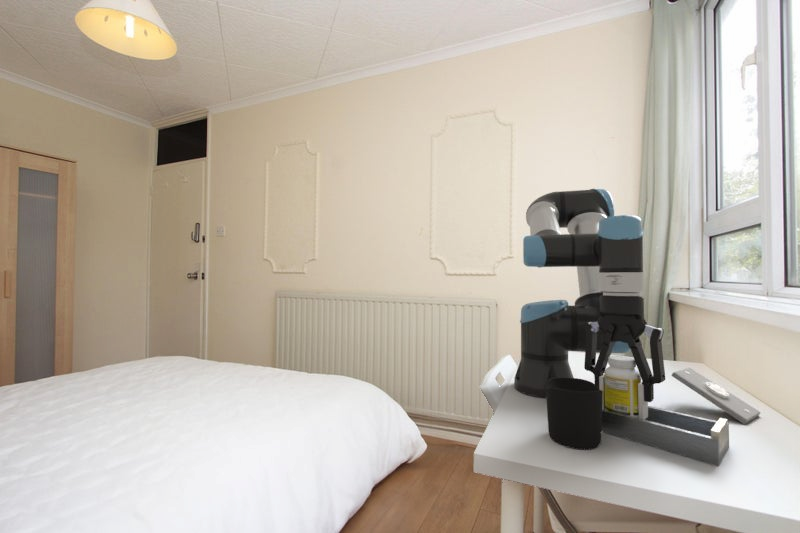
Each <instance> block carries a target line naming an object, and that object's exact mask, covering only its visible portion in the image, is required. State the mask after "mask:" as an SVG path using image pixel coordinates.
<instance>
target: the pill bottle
mask: <svg viewBox="0 0 800 533" xmlns="http://www.w3.org/2000/svg"><path fill="white" fill-rule="evenodd" d="M607 365H609V366H608V367H606V369H605V372H604V373H603V375H604V382H605V410H608V411H612V412H616V413H620V414H624V415H628V416H632V417H635V418H639V408H638V384H639V383H641V382H642V379H641V376H640V373H639V371H638V369H635V368H637V365H636V362H635V360H634V357H631V356H627V355H626V356H623V355H610V356H609V357H608V363H607Z"/></svg>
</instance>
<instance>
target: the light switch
mask: <svg viewBox="0 0 800 533" xmlns="http://www.w3.org/2000/svg"><path fill="white" fill-rule="evenodd" d="M671 377H673V378H674V379H675V380H677V381H679V382H680V383H681V384H683V385H685V386H686V387H687V388H689V389H691V390H692V391H693V392H695V393H697V394H698V395H700V396H701V397H703V398H704V399H705V400H706V401H708V402H710V403H712V404H713V405H715V406H716V407H718V408H719V409H721V410H722V411H724V412H725V413H726V414H728V415H730V416H731V417H733V418H734V419H736V420H738V422H740V423H741V424H743V425H746V424H747V423H749V422H751V421H753V420H754V419H755V418H757V417H759V416H760V414H761V411H759V410H758V409H757V408H755V407H753V406H751V405H750V404H749V403H747V402H745V401H744V400H742V399H740V398H739V397H737V396H736V395H734V394H733V393H732V392H730V391H728V390H727V389H724V388H723V387H722V386H720V385H718V384H716V383H715V382H713V381H712V380H710V379H708V378H707V377H705V376H704V375H702V374H701V373H699V372H697V371H696V370H694V369H692V368H691V367H688V368H687V367H686V368H684V369H679V370H677V371H674V372H672V374H671Z"/></svg>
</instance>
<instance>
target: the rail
mask: <svg viewBox="0 0 800 533" xmlns="http://www.w3.org/2000/svg"><path fill="white" fill-rule="evenodd" d="M729 424H730V423H728V418H723V417H719V418H718V420H714V419H710V418H705V417H701V416H696V415H692V414H687V413H682V412H678V411H674V410H669V409H666V408H660V407H657V406H651V405H648V417H647V418H646V419H645V420H643V419H639V418H635V417H632V416H628V415H624V414H620V413H616V412H612V411H608V410H604V409H602V429H601V433H605V434H608V435H612V436H614V437H619V438H622V439H625V440H628V441H632V442H635V443H639V444H643V445H645V446H650V447H652V448H655V449H659V450H662V451H665V452H669V453H673V454H676V455H678V456H679V455H680V456H682V457H686V458H689V459H693V460H697V461H700V462H702V463H707V464H710V465H713V466H716V467H719V466H720V465H721V463H722V461H723V459H724V457H725V456H726V454H727V452H728V450H729V448H730V431H729V430H730V426H729Z"/></svg>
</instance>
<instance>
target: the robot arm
mask: <svg viewBox="0 0 800 533" xmlns="http://www.w3.org/2000/svg"><path fill="white" fill-rule="evenodd" d="M614 206H615V205H614V201H613V197H612V195H611V193H610V191H609V190H607V189H604V188H600V189H599V188H590V189H580V190H566V191H563V190H562V191H552V192H548V193H545V194H543V195H541V196H539V197H538V198H536V199H535V200H533V202H531V203H530V204H529V206H528V208H527V210H526V212H525V220H526V224H527V225H528V227H529V232H530V235H526V236H524V237H523V242H522V247H523V248H522V249H523V250H522V252H523V253H522V254H523V255H522V256H523V257H522V258H523V259H522V260H523V261H522V262H523V264H524V266H525V267H535V268H552V267H553V268H558V267H559V268H560V267H561V268H566V267H567V268H569V267H573V268H575V267H576V272H577V281H578V289H579V297H577V298H576V299H575V301H574V305H569V303H568V301H567V300H566V299H556V300H555V299H552V300H541V301H535V302H533V301H532V302H529V303H525V304H524V305H523V306H522V307H521V310H520V320H519V323H520V360H519V363H518V367H517V369H516V373H515V376H514V381H513V382H514V383H513V384H514V389H515V390H516V391H519V392H520V393H522V394H525V395H529V396H533V397H539V398H544V399H547V398H546V382H547V381H548V380H549V379H551V378H559V377H566V378H575V377H574V374H573V371H572V368H571V366H570V362H569V352H579V353H580V352H583V353H585V354H584V366H583V367H584V369H585V371H588V372H590V373H592V374H593V376H594V384H595V385H596V386H597V387H598V388H599V389H600V390H602V391H603V398H602V409H604V410H605V382H604V372H605V369H606V368H607V365H608V357H609V356H612V354H620V355H621V354H627V353H629V352H630V351H631V353H632V356H633V357H632V358H634V360H635V362H636V368H637V371H638V372H639V373H640V376H641V383H639V384H638V408H639V419H643V420H645V419H646V418H647V417H648V406H649V403H652V402H653V401H654V392H655V391H654V385H655V384H662V383H663V382H665V380H666V372H665V370H666V369H665V364H664V363H665V362H664V361H665V360H664V353H663V344H662V340H663V338H664V337H663V336H664V333H665V330H664V329H663V328H662V327H655V326H652V325H648V323H647V322H646V319H645V298H644V297H643V296H641V294H643V293H644V289H645V288H644V270H643V269H644V254H643V253H644V252H643V251H644V249H643V248H644V246H643V240H644V239H643V236H644V231H643V225H642V224H643V223H642V219H641V218H640V217H639V216H637V215H627V214H626V215H625V214H624V215H623V214H622V215H615V208H614ZM565 228H567V229H566V230H567V232H568V233H564V234H562V231H561V229H565ZM645 332H646V334H647V337H648V338H649V347H650V348H649V349H650V358H651V359H650V360H651V366H652V371H651V368H650V365H649V363H648V360H647V357H646V354H645V352H644V351H645V350H644V349H643V344H642V341H641V339H640V338H641V336H642V335H643V334H644V333H645ZM598 353H599V354H598ZM597 354H598V357H597ZM596 360H597V361H596Z"/></svg>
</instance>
